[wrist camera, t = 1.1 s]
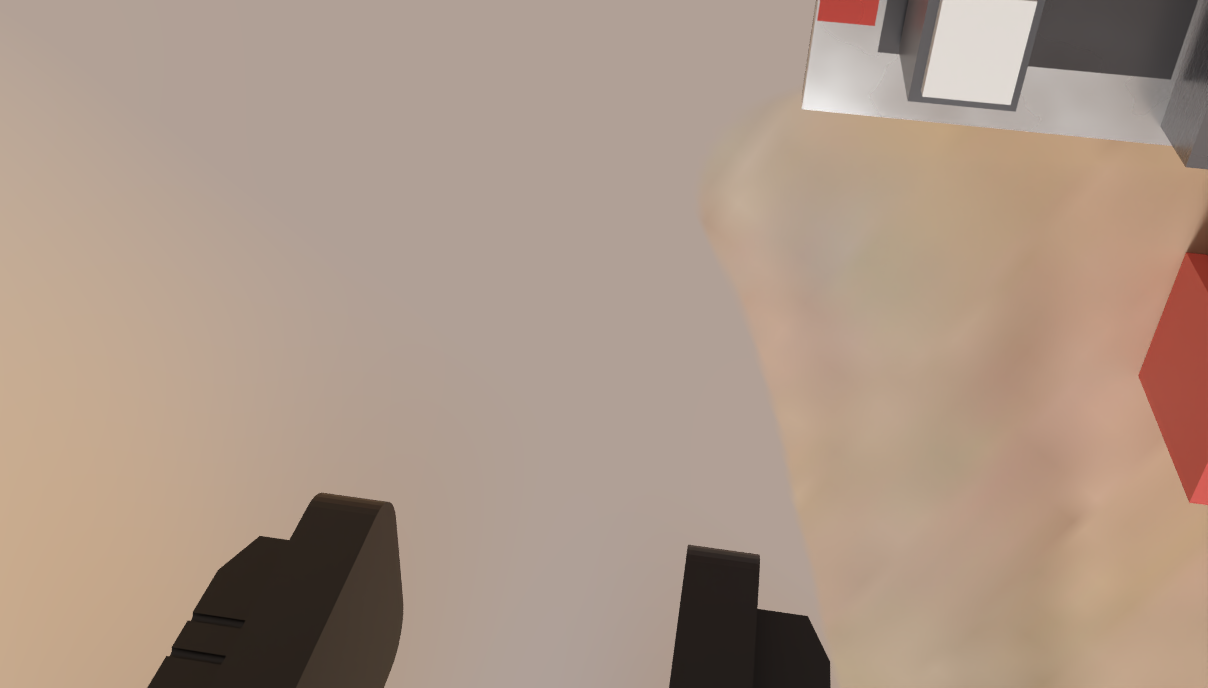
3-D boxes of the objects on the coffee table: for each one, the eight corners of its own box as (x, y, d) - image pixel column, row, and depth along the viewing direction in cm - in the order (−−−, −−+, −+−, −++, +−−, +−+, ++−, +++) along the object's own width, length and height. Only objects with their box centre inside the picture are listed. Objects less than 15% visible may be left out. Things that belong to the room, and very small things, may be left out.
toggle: (1025, -60, 28) (1053, -12, 24) (996, 59, 29) (1018, 118, 26) (921, -68, 28) (935, -22, 25) (898, 50, 30) (909, 107, 26)
